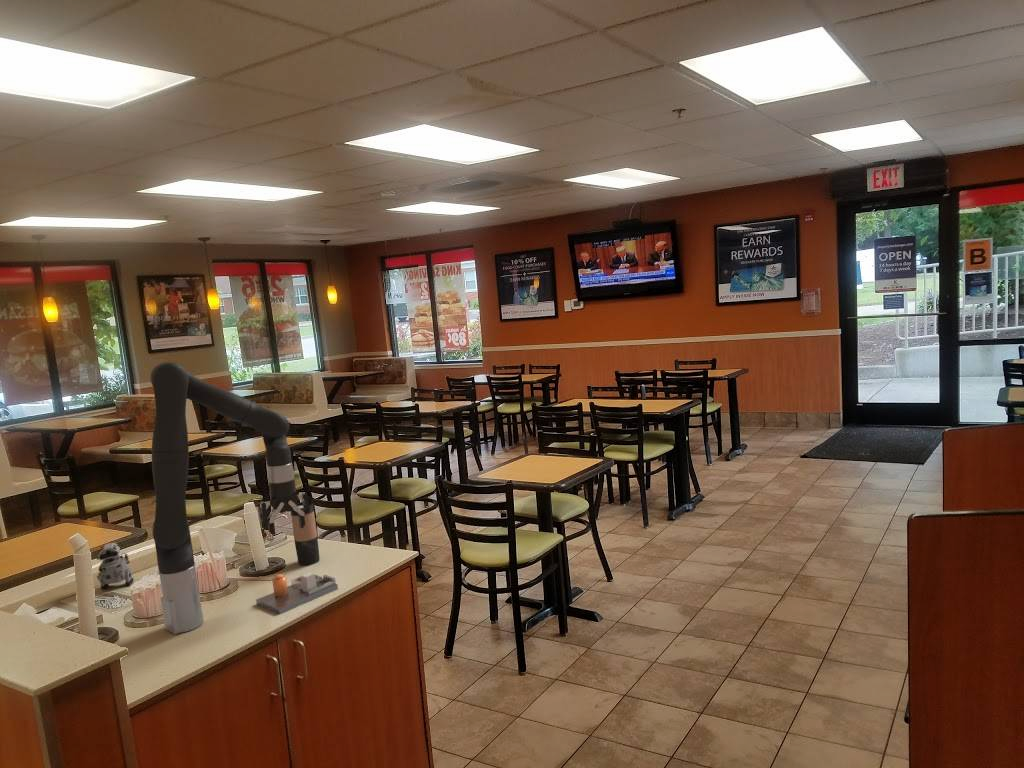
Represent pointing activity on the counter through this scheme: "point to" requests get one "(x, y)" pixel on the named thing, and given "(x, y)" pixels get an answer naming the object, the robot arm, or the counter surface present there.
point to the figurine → (113, 566)
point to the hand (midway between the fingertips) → (287, 531)
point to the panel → (297, 594)
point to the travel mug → (305, 537)
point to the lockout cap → (280, 585)
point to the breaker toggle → (308, 581)
